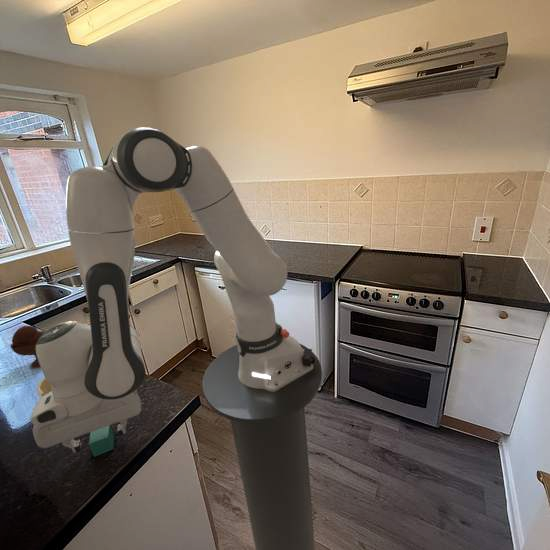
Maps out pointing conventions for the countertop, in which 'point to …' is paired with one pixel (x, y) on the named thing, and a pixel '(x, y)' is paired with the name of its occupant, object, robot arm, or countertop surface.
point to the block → (101, 440)
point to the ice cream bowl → (26, 342)
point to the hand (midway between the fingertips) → (101, 440)
